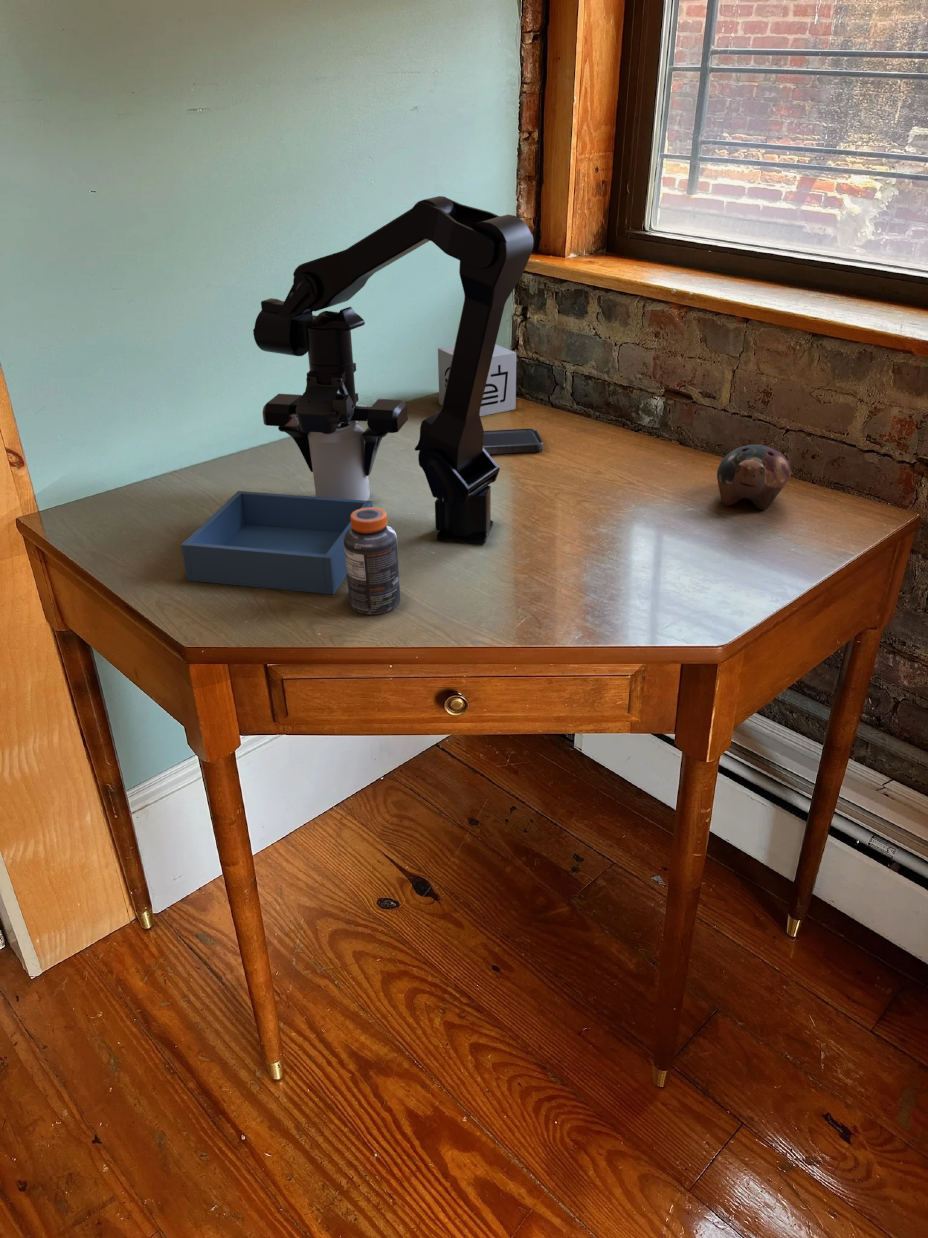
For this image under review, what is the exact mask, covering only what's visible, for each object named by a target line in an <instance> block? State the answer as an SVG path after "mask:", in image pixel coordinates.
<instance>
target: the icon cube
mask: <svg viewBox="0 0 928 1238" xmlns="http://www.w3.org/2000/svg"><path fill="white" fill-rule="evenodd" d="M454 347H455V345H449V346H443V347H438V348H437V367H438V369H437V370H438V371H437V372H438V404H439V405H440V406H442V404H443V399H444V395H445V390H446V385H447V380H448V376H449V371H450V366H451V361H452V357H453V352H454ZM516 404H517V352H516V351H514V350H511V349H508V348H506V347H504V346H501V345H500V344H497V343H496V344H495V348H494V352H493V356H492V361H491V365H490V369H489V373H488V378H487V382H486V386H485V390H484V394H483V399H482V403H481V407H480V417H484V416H489V415H495V414H498V413H504V412H508V411H512V410H516V407H517V406H516Z"/></svg>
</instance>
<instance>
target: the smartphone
mask: <svg viewBox="0 0 928 1238" xmlns="http://www.w3.org/2000/svg"><path fill="white" fill-rule="evenodd" d="M483 448H484V449H485V450H486V451H487V453H488V454H489V455H497V454H499V455H500V454H517V453H518V454H519V453H537V452H538V453H539V452H542V451H544V450H543V449H544V442H543V439H542V438H541V436H540V434H539V432H538V430H537V429H535V428H515V429H513V428H511V429H493V430H484V437H483Z"/></svg>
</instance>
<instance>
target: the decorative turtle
mask: <svg viewBox="0 0 928 1238" xmlns="http://www.w3.org/2000/svg"><path fill="white" fill-rule="evenodd" d="M790 477H791V466H790V463H789V461H788V459H787V458H786V456H784V454H782V453H781V452H780V451H778V450H777V449H774V448H772V447H770V446H767V445H763V444H747V445H743V446H739V447H737V448H735V449H733V450H732V451H730V452H729V453H727V454H726V455H725V456H724V457H723V458H722V460H721V462H720V463H719V465H718V468H717V470H716V479H717V485H718V490H719V493H720V498H721V502H722V504H724V506H726V507H730V506H733V505H734V504H736V503H738V501H740V500H741V499H748V500H749V501H751V502H752V503H753V504H754V505H755V506H756V508H757V509H759V510H760V511H766V510H768V509H769V508H770V507H771V506H772V504H773V503H774V501H775V500H776V498H777V496H778V495H779V494H780V493H781V491H782V490H783V489H784V487H785V486H786V485H787V484H788V482H789V479H790Z"/></svg>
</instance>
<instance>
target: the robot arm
mask: <svg viewBox="0 0 928 1238" xmlns="http://www.w3.org/2000/svg"><path fill="white" fill-rule="evenodd" d="M429 242H432V243H433V244H434V245H435V246H436V247H437V248H439V249H440V250H441V251H442V252H443V253H444V254H446V255H447V256H449V257H451V258H453V259H456V260H458V261H459V267H458V268H459V270H458V273H459V278H460V282H461V286H462V290H463V295H464V297H463V298H464V299H463V305H462V310H461V315H460V319H459V323H458V329H457V333H456V338H455V342H454V343H455V344H454V346H455V347H454V352H453V357H452V361H451V366H450V371H449V376H448V380H447V385H446V390H445V395H444V399H443V404H442V405H441V408H440V410H439V411H437V412H435V413H433V414H431V415H430V416H428V417H426V418H424V419H423V420H422V421H421V423H420V426H419V439H418V443H417V445H416V446H415V448H414V450H415V451H416V452H417V451H418V457H417V458H418V459H417V462H418V465H419V467H420V468H421V470H422V471H423V473H424V476H425V478H426V481H427V484H428V487H429V490H430V492H431V495H432V497H433V498H436V499H435V501H434V521H435V523H434V524H435V530H436V531H437V534H436V535H435V537H436V538H435V539H436V541H442V542H452V543H465V544H476V545H477V544H478V545H484V544H486V543H487V540H488V538H489V536H490V533H491V531H492V529H493V526H494V521H493V520H492V518H491V517H492V516H491V514H492V513H491V511H492V509H491V508H492V507H491V505H492V504H491V503H492V501H491V498H492V497H491V495H492V494H491V485H490V484H492V483H495V482H496V481H497V478H498V475H499V473H500V471H501V468H500V466H499V465H498V464H497V462H496V461H495V460H494V459H493V457H492V456H491V454H488V453H487V451H486V450H485V449H484V448H483V437H484V431H485V429H484V426H483V422H482V418H481V416H480V407H481V403H482V399H483V394H484V390H485V386H486V382H487V378H488V373H489V369H490V365H491V361H492V356H493V352H494V348H495V344H497V339H498V335H499V331H500V326H501V323H502V319H503V313H504V310H505V306H506V303H507V301H508V299H509V297H510V296H511V294H512V292H513V291H514V289H516V286H517V285H518V283H519V281H520V280H521V278H522V277H523V274H524V271H525V269H526V267H527V265H528V262H529V260H530V258H531V256H532V253H533V248H534V235H533V233H531V230H530V229H529V227H528V225H527V224H526V222H525V221H524V220H523V219H522V218H520V217H518V216H517V215H512V214H504V215H498V214H496V213H493V212H491V211H487V210H484V209H481V208H477V207H473V206H470V205H466V204H463V203H459V202H457V201H455V200H453V199H450V198H448V197H446V196H443V195H439V196H433V197H430V198H429V197H428V198H424V199H421V200H418V201H417V202H416V203H415V204H414V206H412V207H411V208H410V209H408V210H407V211H405V212H404V213H402V214H400V215H399V216H397V217H396V218H394V219H392V220H391V221H389V222H388V223H387V224H384V225H383V226H381V227H380V228H378V229H376V230H375V231H373V232H371V233H370V234H368V235H367V236H365V237H364V238H362V239H360V240H358V241H357V242H356V243H354V244H353V245H351V246H349V247H347V248H346V249H342V250H341V251H338V252H334V253H331V254H327V255H325V256H321V257H318V258H315V259H313V260H309V261H307V262H303V263H301V264H299V265H298V266H297V267H296V268H295V269H294V271H293V275H292V276H293V281H292V283H293V284H292V285H291V287H290V289H289V291H288V293H287V295H286V298H285V299H284V300H280V299H278V298H268V299H264V300H261V301H260V306H261V307H260V308H261V310H260V311H259V313H258V314H257V316H256V319H255V321H254V328H253V330H252V332H253V333H252V335H253V339H254V342H255V345H256V346H257V347H258V348H259V349H260V350H261V351H264V352H268V353H273V354H280V355H287V356H292V357H293V356H294V357H303V356H305V355H306V354H307V356H308V369H309V371H308V372H307V373H306V378H305V379H306V380H305V382H306V386H305V390H304V392H303V393H302V394H292V393H277V394H276V395H275V396H274V397H272V398H271V399H270V400H269V401H267V402H266V403H265V404H264V405H263V408H262V421H263V425H265V426H268V427H269V426H270V427H277V429H278V431H279V432H283V433H286V434H287V435H288V436H290V437H291V438H292V439H293V441H294V442H295V444H296V445H297V447H298V449H299V451H300V453H301V455H302V457H303V459H304V461H305V463H306V466H307V467H308V469H309V471H310V473H313V469H312V462H311V454H310V447H309V440H308V435H309V433H310V432H321V433H323V434H331V433H334V432H335V431H336V429H337V426H338V424H341V422H344V423H349V422H350V421H358V422H366V425H367V428H365V430H363V433H362V436H363V438H364V442H365V461H364V467H365V474H366V476H368V477H369V476H370V475H371V474H372V469H373V467H374V463H375V460H376V457H377V454H378V451H379V448H380V445H381V442H382V440H383V438H385V437H386V436H387V435H388V434H395V433H399V431H400V430H401V429H402V427H403V426H404V425H405V424H406V423H407V422H408V420H409V415H408V414H409V413H408V411H409V410H408V407H407V404H406V403H405V401H403V399H386V398H385V399H384V398H383V399H382V398H378V399H376V401H375V402H374V403H373V404H372V405H371V406H365V405H364V406H361V405H357V403H358V402H359V393H358V392H356V385H355V383H356V382H355V372H357V363H356V362H354V354H353V342H352V341H353V340H352V330H355V329H357V328H358V329H359V328H361V327H362V326H363V327H364V326H365V324H366V321H365V320H364V319H363V318H362V316H361V315H359V314H358V313H357V312H355V310H354V308H353V306H348V307H345V308H342V309H340V310H339V311H332V310H324V309H327V308H330V307H333V306H337V305H339V304H342V303H346V302H348V301H349V300H351V299H352V298H354V296H355V295H357V293H358V292H360V291H361V289H363V288H364V287H365V285H366V284H367V282H368V280H369V279H370V278H371V277H372V276H373V275H375V274H376V273H378V272H379V271H381V270H383V269H384V268H386V267H387V266H389V265H391V264H393V263H394V262H396V261H399V259H401V258H403V257H405V256H407V255H408V254H410V253H412V252H413V251H415V250H417V249H418V248H420V247H422V246H423V245H425V244H427V243H429ZM321 310H323V311H321ZM318 311H321V312H319V314H317V315H316V314H315V315H314V314H313V312H318Z"/></svg>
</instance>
